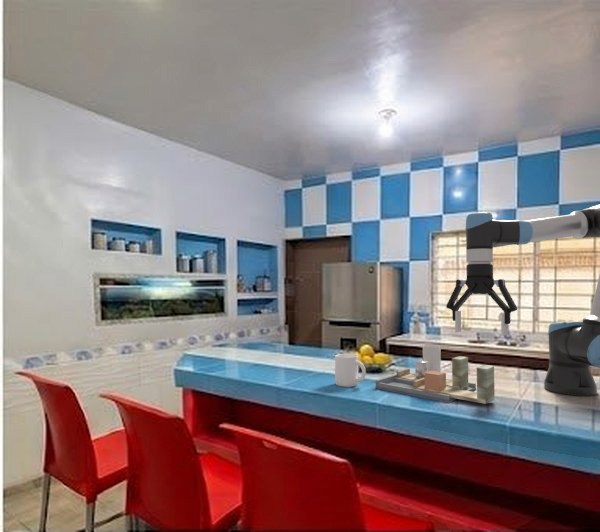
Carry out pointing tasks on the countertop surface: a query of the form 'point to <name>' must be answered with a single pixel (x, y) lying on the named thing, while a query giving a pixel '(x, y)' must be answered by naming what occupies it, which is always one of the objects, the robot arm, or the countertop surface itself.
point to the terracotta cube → (435, 380)
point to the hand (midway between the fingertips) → (480, 333)
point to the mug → (348, 370)
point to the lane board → (407, 388)
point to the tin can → (421, 368)
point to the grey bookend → (432, 357)
